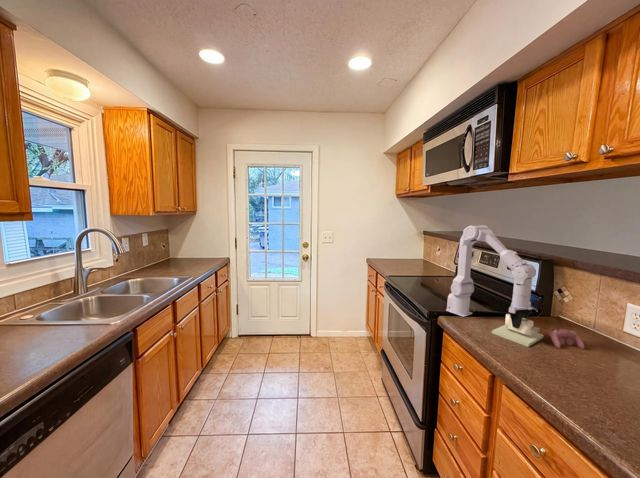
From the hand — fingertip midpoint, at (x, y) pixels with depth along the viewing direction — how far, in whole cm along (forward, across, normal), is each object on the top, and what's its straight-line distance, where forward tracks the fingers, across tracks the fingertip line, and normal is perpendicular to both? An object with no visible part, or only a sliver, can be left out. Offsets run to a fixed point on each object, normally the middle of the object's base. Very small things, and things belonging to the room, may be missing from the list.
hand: (518, 326), depth 113 cm
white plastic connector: (+2, 0, 0) cm, 2 cm away
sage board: (+4, 0, 0) cm, 4 cm away
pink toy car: (+4, +7, -13) cm, 16 cm away
